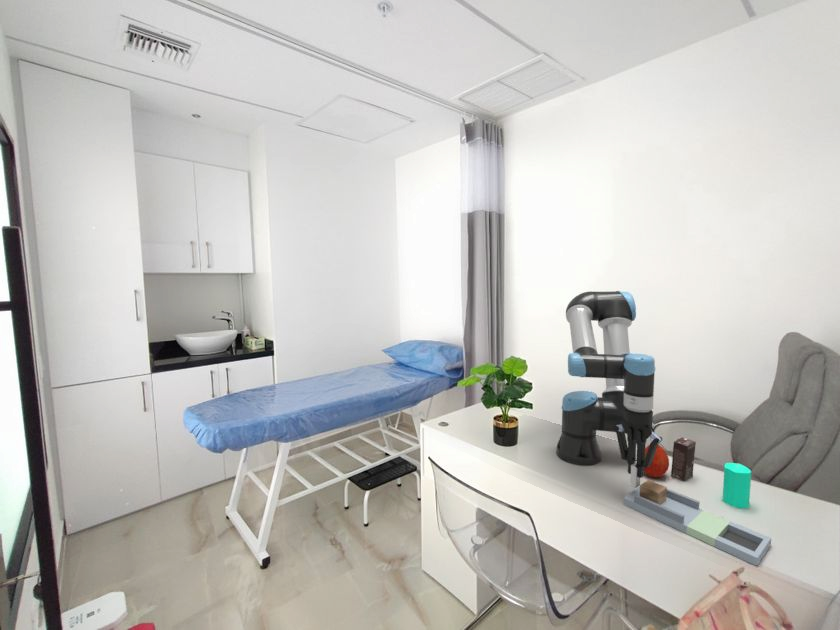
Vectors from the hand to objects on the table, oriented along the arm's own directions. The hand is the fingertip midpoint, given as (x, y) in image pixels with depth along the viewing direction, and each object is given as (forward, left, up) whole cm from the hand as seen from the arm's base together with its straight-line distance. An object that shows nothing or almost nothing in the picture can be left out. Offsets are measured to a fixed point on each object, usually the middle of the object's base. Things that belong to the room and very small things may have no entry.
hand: (635, 485), depth 114 cm
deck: (+14, 0, -4) cm, 15 cm away
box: (+3, +25, -4) cm, 25 cm away
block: (+5, 0, -2) cm, 5 cm away
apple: (-3, +19, -4) cm, 19 cm away
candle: (+18, +21, -4) cm, 28 cm away
